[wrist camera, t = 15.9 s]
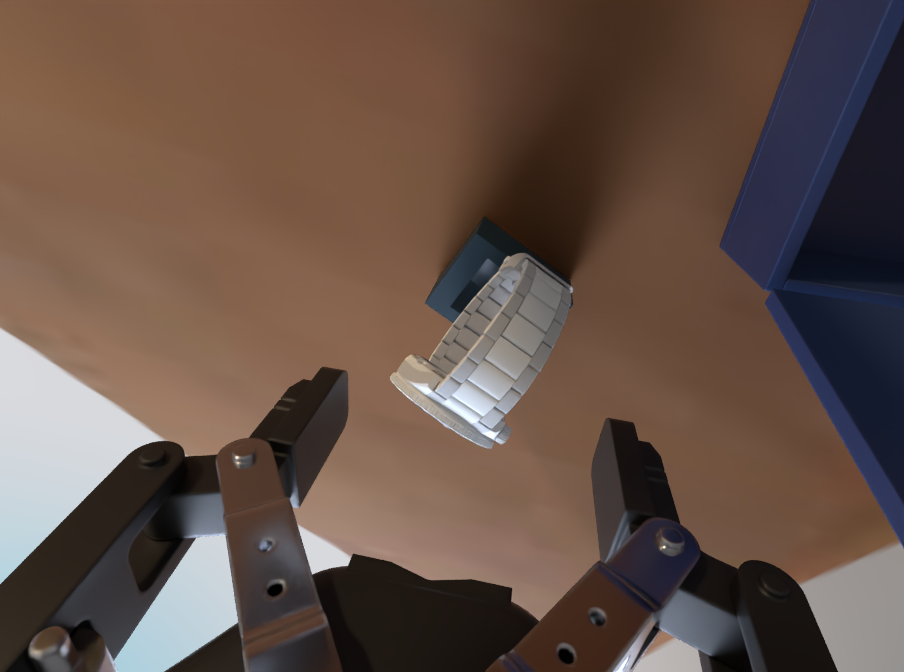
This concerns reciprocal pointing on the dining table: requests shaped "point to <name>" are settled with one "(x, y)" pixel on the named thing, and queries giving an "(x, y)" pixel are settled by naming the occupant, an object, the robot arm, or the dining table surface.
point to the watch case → (831, 162)
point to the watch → (487, 335)
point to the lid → (855, 381)
